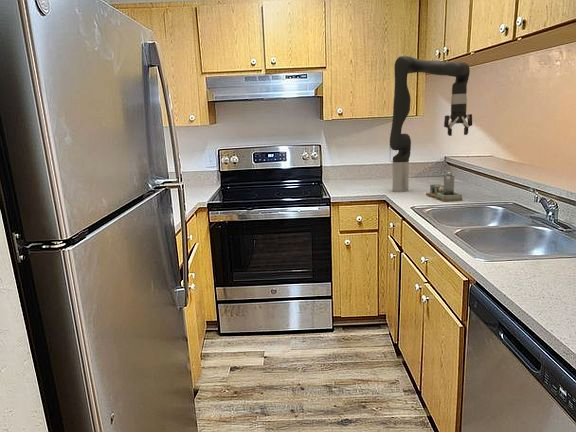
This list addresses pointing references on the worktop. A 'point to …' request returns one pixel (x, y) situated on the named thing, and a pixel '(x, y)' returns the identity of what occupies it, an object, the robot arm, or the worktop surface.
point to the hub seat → (449, 196)
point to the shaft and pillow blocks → (436, 188)
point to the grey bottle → (448, 184)
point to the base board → (441, 198)
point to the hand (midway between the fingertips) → (457, 135)
